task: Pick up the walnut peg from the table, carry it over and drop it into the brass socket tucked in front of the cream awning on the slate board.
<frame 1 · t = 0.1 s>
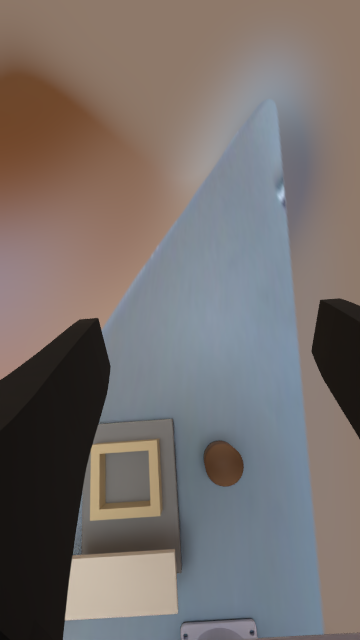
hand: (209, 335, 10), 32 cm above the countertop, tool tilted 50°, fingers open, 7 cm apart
peg: (219, 457, 39), on the countertop
socket stand: (131, 491, 38), on the countertop
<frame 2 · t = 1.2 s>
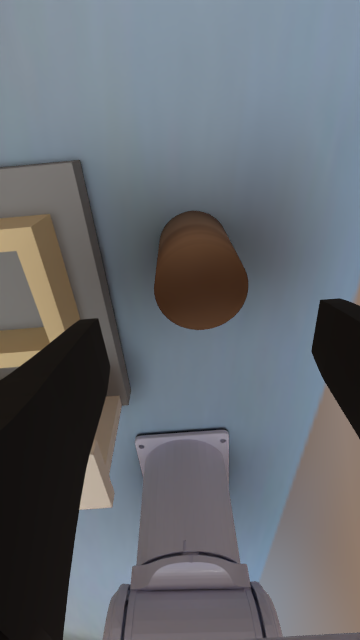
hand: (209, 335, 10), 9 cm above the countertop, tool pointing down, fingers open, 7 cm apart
peg: (193, 245, 18), on the countertop
socket stand: (26, 305, 20), on the countertop
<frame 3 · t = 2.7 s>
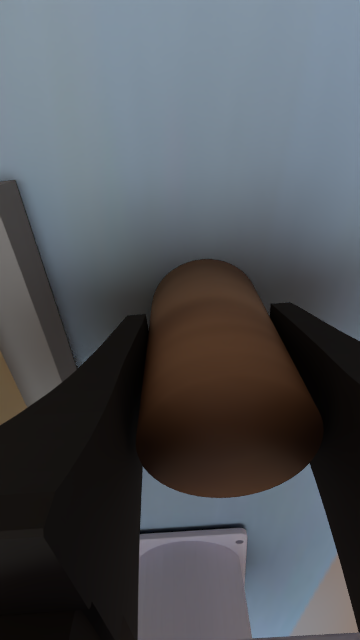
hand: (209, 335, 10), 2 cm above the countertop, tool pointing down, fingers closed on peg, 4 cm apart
peg: (204, 309, 12), on the countertop, touching gripper
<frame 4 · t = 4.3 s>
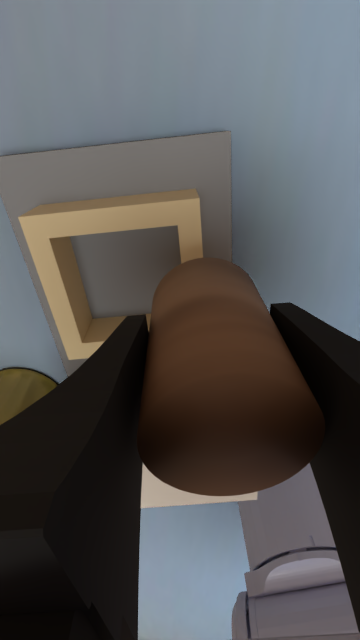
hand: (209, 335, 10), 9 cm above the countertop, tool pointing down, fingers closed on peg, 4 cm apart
peg: (205, 308, 12), point 7 cm above the countertop, touching gripper
socket stand: (139, 291, 19), on the countertop
vase: (27, 395, 24), on the countertop
when the fingers open (5 cm above the countertop, at t = 6.3 s): peg drops 2 cm, resting on socket stand.
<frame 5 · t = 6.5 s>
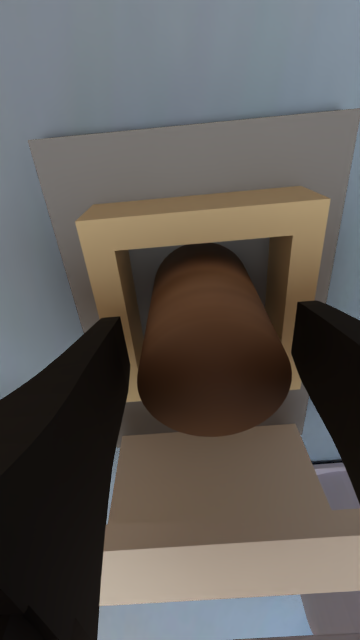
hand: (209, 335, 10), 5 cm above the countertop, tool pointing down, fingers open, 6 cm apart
peg: (201, 288, 13), point 2 cm above the countertop, touching socket stand
socket stand: (200, 312, 16), on the countertop
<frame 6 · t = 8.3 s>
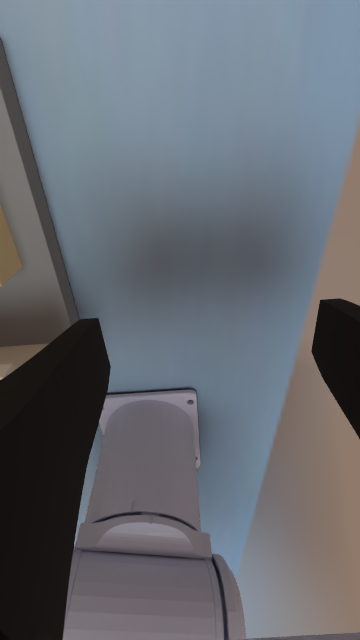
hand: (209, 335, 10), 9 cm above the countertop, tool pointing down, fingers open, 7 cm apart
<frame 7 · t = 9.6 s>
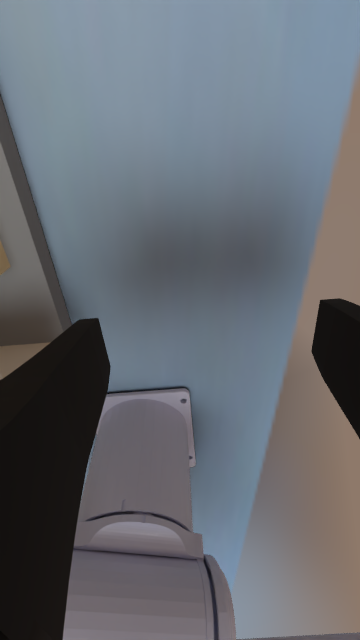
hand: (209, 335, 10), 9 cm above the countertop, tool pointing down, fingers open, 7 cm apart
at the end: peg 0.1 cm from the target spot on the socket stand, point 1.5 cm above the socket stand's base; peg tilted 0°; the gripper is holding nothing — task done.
